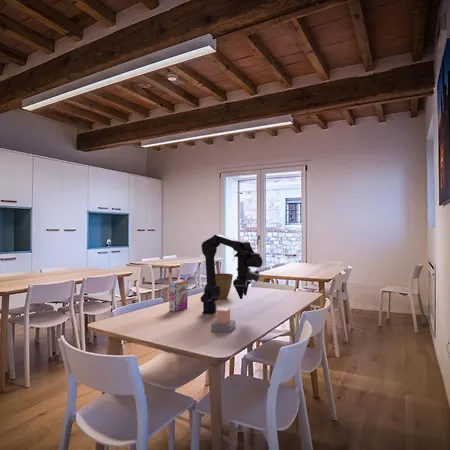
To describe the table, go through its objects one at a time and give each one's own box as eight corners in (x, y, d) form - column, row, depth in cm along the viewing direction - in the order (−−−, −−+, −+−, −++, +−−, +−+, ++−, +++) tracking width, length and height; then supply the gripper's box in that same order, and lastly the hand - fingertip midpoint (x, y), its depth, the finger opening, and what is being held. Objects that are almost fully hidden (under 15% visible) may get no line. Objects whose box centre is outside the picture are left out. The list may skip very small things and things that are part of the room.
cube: (216, 323, 152) (216, 310, 152) (220, 320, 157) (220, 307, 157) (227, 324, 151) (227, 310, 151) (230, 321, 156) (230, 308, 156)
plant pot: (232, 300, 214) (232, 275, 215) (210, 300, 215) (210, 275, 215) (232, 296, 229) (232, 272, 229) (211, 296, 230) (211, 272, 230)
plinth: (211, 330, 151) (211, 324, 151) (217, 325, 159) (217, 318, 160) (230, 332, 148) (230, 325, 148) (235, 326, 157) (235, 320, 157)
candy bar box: (175, 312, 184) (175, 282, 185) (168, 311, 187) (168, 282, 187) (188, 308, 194) (188, 280, 194) (181, 307, 196) (181, 279, 197)
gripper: (255, 268, 156) (255, 301, 156) (262, 264, 174) (262, 294, 174) (232, 268, 159) (232, 300, 159) (241, 264, 177) (241, 293, 177)
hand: (243, 297), depth 167 cm, fingers open, 9 cm apart
